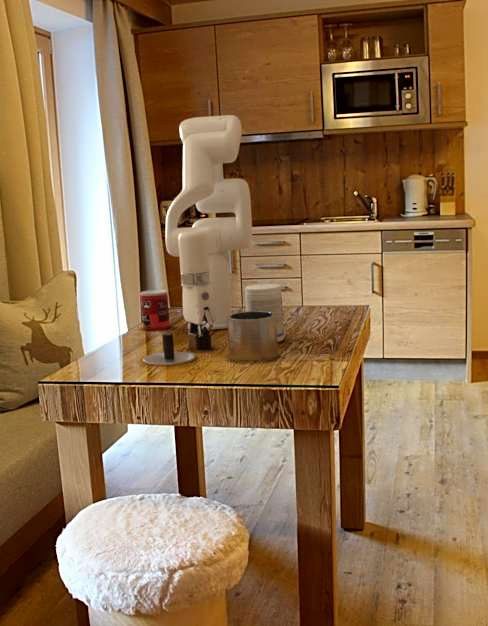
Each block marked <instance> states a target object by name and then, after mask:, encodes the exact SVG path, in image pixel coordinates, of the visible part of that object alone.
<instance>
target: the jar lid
mask: <svg viewBox="0 0 488 626" xmlns="http://www.w3.org/2000/svg"><path fill="white" fill-rule="evenodd" d="M161 338H162V339H161V340H162V351H161V352H156V353H152V354H149V355H146V356H144V357H143V359H142V362H143V364H144V365H148V366H154V367H171V366H180V365H185V364H189V363H191V362H193V361H195V360H196V354H195V353H193V352H189V351H180V350H178V351H177V350H175V346H174V334H173V333H172V332H165V333H162V335H161Z"/></svg>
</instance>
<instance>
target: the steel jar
mask: <svg viewBox="0 0 488 626" xmlns="http://www.w3.org/2000/svg"><path fill="white" fill-rule="evenodd" d="M227 324H228V328H227V339H228V340H227V341H228V353H229V354H228V356H229V359H231V360H233V361H239V362H260V361H261V362H262V361H268V360H271V359H274V358H278V356H279V350H278V342H277V326H276V314H275V313H273V312H268V311H246V310H245V311H240V312H234V313H232V314H230V315H229V316H227Z"/></svg>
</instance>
